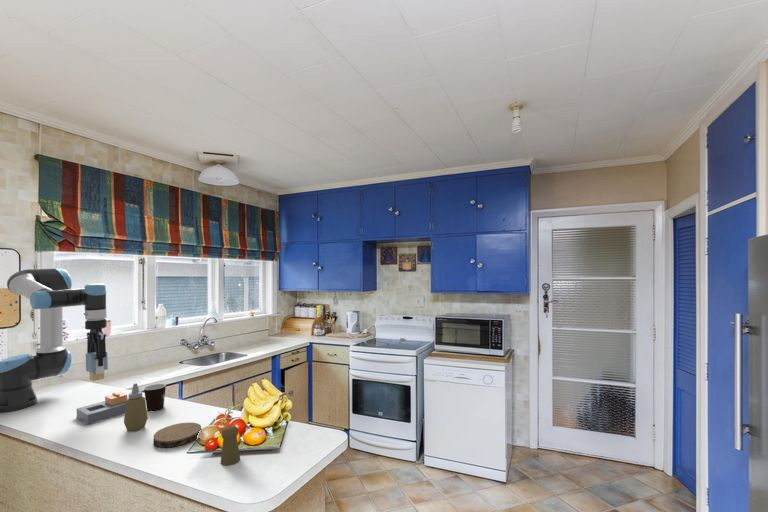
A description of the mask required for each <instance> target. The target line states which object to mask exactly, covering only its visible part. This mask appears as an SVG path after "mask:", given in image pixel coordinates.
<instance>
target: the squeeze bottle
mask: <svg viewBox="0 0 768 512" xmlns="http://www.w3.org/2000/svg"><path fill="white" fill-rule="evenodd" d="M128 398H129V399H128V400H127V401H126V405H125V414H123V415H124V417H123V424H124V426H125V428H126V429H125V430H126V431H127V432H128V433H130V432H131V433H133V432H138V431H141V430H143V429H145V427H146V426H147V425H146V424H147V421H148V411H147V406H146V399H145V396H143V391H142V390H139V386H138V383H135V382H134V383H133V385H132V390H131V392H129V393H128Z"/></svg>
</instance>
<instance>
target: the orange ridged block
mask: <svg viewBox="0 0 768 512" xmlns="http://www.w3.org/2000/svg"><path fill="white" fill-rule="evenodd" d="M127 398H128V394H126V393H124V392H122V391H120V392H112V394H109V395H105V396H104V401H105V403H106V404H108V405H110V406H112V405H116V404H119V403H123V402H126V401H127Z"/></svg>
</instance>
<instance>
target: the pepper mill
mask: <svg viewBox="0 0 768 512" xmlns="http://www.w3.org/2000/svg"><path fill="white" fill-rule="evenodd" d="M220 435H221V438H222V447H221V453H220V454H221V456H220V465H221V466H224V467H225V466H232V465H233V466H234V465H235V464H237V463H239V462H240V460H241V455H240V449H239V443H238V435H239V428H238V427H237V426H235V425H228V426H225V427H223V429H222V430H221V433H220Z"/></svg>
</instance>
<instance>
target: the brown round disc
mask: <svg viewBox="0 0 768 512" xmlns="http://www.w3.org/2000/svg"><path fill="white" fill-rule="evenodd" d="M201 425H202V424H200V423H197V422H179V423H176V424H171V425H168V426H166V427H163V428H161V429H159V430H157V431H156V432H155V433H154V434H153V446H154V447H155V448H157V449H161V450H162V449H165V450H167V449H176V448H180V447H184V446H186V445H190V444H192V443H194V442H195V441H197V440H198V439H197V435H198V433H199V431H200V430H201V431H202V426H201ZM196 439H197V440H196Z"/></svg>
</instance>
